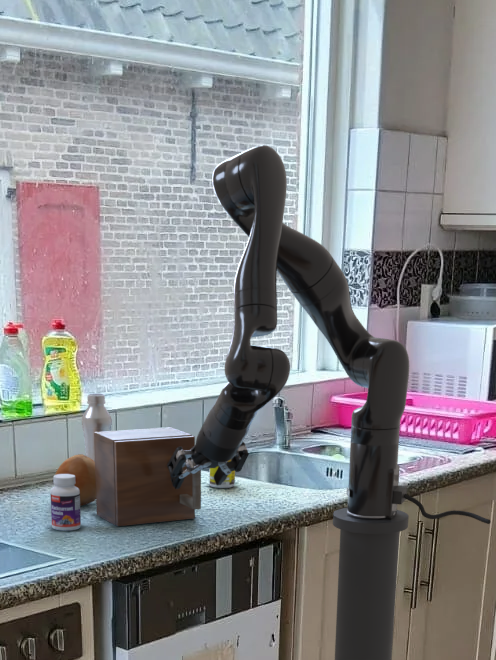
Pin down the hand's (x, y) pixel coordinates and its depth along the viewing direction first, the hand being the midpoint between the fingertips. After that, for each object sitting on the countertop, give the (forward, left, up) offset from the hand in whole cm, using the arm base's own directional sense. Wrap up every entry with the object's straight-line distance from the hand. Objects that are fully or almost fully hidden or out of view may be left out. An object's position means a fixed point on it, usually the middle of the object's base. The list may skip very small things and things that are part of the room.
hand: (196, 483), depth 223 cm
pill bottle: (+22, +9, -8) cm, 26 cm away
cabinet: (+12, -5, -8) cm, 16 cm away
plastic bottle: (+30, -24, -8) cm, 40 cm away
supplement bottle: (+7, -38, -8) cm, 39 cm away
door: (+6, +2, -8) cm, 10 cm away
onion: (+28, -10, -8) cm, 31 cm away
